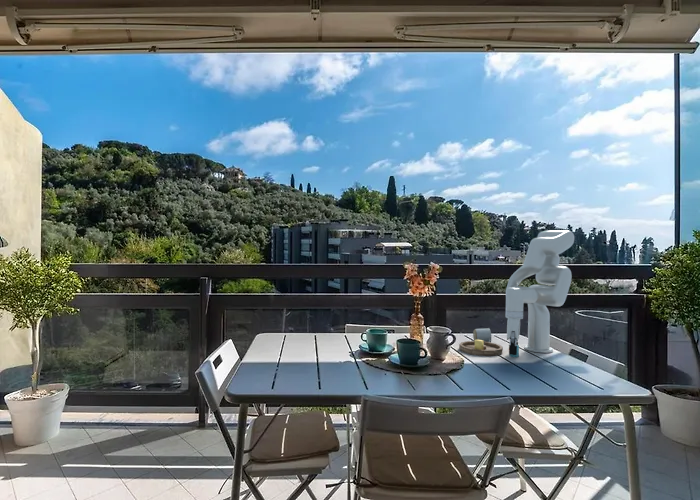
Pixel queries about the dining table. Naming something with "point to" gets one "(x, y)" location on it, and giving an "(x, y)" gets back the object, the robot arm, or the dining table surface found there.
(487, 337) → the ceramic mug
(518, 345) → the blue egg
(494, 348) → the groove tray
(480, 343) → the ochre bead
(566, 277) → the robot arm
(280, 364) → the dining table surface
